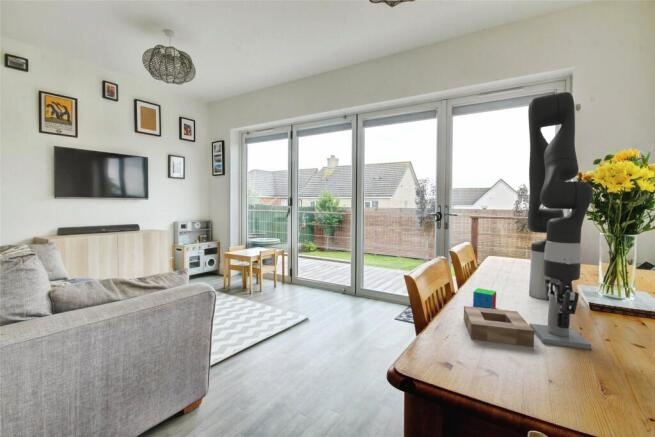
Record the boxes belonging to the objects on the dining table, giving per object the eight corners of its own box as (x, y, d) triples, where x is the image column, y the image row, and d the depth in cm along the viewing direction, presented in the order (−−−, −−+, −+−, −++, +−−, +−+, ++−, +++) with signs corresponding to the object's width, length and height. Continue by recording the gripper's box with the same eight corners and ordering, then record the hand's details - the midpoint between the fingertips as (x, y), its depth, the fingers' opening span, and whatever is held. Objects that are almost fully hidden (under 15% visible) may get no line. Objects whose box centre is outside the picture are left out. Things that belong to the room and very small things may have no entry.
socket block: (463, 319, 92) (464, 306, 92) (516, 325, 88) (516, 311, 88) (470, 338, 79) (471, 323, 79) (533, 346, 75) (534, 330, 75)
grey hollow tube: (572, 337, 77) (575, 297, 77) (552, 335, 78) (555, 296, 78) (563, 330, 82) (565, 292, 81) (544, 328, 83) (546, 291, 82)
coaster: (529, 327, 86) (529, 323, 86) (571, 332, 83) (571, 328, 83) (543, 343, 77) (543, 338, 77) (591, 349, 74) (591, 344, 74)
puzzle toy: (491, 312, 98) (492, 294, 98) (472, 308, 102) (473, 291, 102) (495, 308, 103) (496, 291, 102) (477, 304, 106) (477, 288, 106)
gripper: (535, 253, 87) (532, 312, 88) (556, 263, 73) (553, 333, 74) (566, 255, 85) (563, 315, 86) (594, 265, 71) (590, 337, 72)
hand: (558, 323), depth 80 cm, fingers closed on grey hollow tube, 4 cm apart
